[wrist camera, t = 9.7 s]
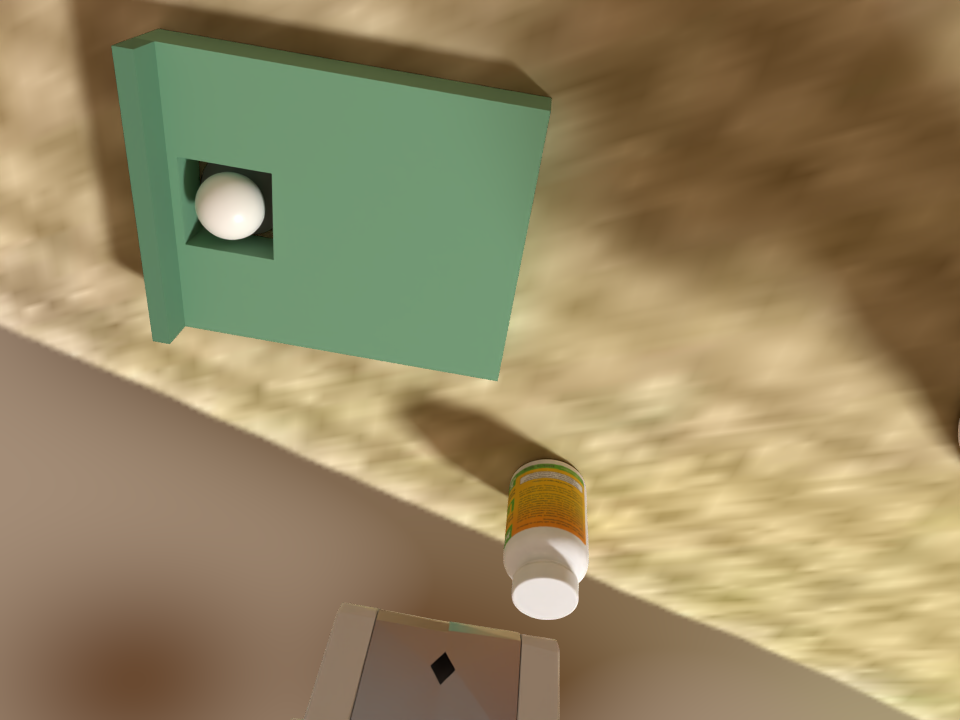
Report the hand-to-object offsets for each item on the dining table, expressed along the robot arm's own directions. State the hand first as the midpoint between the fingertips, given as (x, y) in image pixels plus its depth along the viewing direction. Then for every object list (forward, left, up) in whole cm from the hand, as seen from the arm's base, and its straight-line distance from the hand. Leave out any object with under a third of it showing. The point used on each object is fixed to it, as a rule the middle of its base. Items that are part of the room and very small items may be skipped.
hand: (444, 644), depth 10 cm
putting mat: (+9, +8, -31) cm, 33 cm away
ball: (+15, +8, -29) cm, 34 cm away
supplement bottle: (-6, +26, -31) cm, 41 cm away
